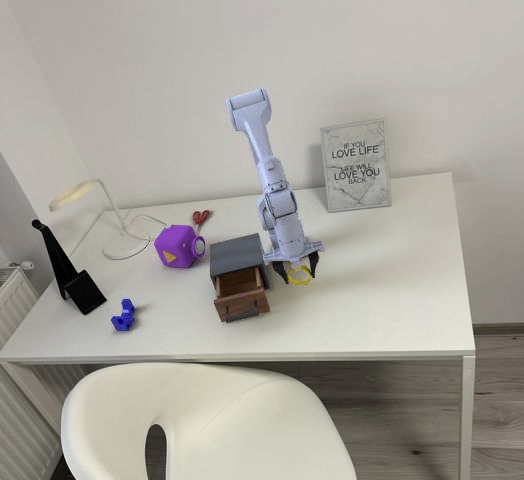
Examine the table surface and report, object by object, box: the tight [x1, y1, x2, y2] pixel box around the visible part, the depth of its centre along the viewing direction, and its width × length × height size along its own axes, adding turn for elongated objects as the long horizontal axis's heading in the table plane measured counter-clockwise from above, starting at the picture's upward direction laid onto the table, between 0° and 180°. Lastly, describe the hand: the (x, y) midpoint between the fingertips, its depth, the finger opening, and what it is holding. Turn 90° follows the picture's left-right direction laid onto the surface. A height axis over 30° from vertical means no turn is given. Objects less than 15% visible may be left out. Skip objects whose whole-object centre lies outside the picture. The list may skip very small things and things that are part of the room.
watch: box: [286, 261, 312, 286], centre depth 135 cm, size 6×3×6 cm, turn 76°
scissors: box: [192, 209, 211, 234], centre depth 171 cm, size 5×14×1 cm, turn 172°
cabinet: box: [209, 232, 271, 294], centre depth 145 cm, size 14×14×9 cm
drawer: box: [213, 267, 271, 324], centre depth 135 cm, size 17×12×7 cm
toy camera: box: [153, 223, 207, 268], centre depth 157 cm, size 11×14×10 cm
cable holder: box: [110, 298, 136, 332], centre depth 145 cm, size 8×4×4 cm, turn 164°
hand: (299, 278), depth 136 cm, fingers closed on watch, 6 cm apart
